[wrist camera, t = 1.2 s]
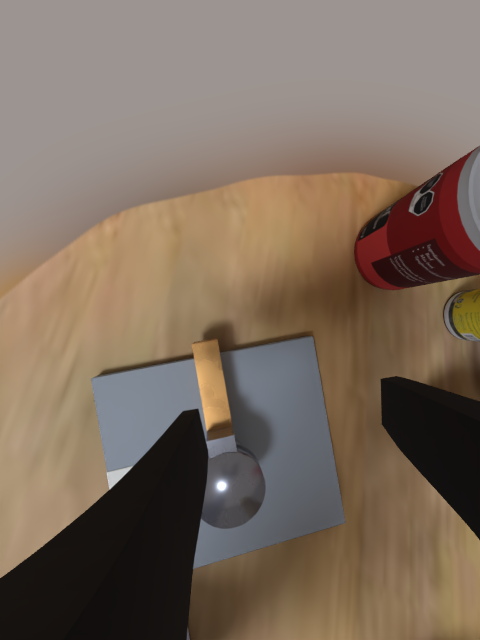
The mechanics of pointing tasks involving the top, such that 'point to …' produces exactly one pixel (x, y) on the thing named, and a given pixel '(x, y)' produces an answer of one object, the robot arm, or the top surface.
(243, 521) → the lever handle
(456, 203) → the canned food
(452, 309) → the supplement bottle
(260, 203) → the top surface
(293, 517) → the base
